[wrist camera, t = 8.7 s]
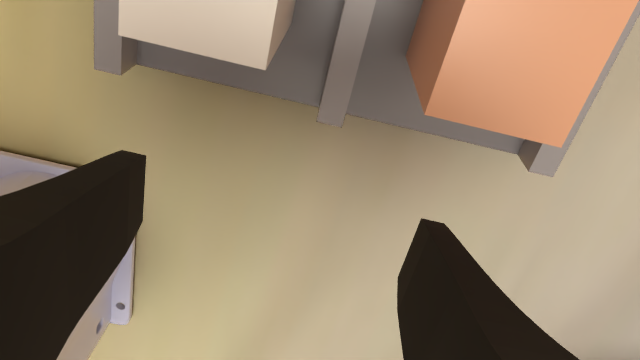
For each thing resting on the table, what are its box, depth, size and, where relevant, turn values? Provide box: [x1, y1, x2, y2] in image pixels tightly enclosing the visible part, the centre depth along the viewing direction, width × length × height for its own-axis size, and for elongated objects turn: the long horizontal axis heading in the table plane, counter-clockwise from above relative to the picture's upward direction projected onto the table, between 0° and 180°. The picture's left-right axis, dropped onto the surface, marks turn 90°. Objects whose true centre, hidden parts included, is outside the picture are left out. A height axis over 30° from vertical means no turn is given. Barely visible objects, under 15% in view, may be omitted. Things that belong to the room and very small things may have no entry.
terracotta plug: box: [406, 0, 639, 148], centre depth 15 cm, size 6×4×6 cm, turn 167°
